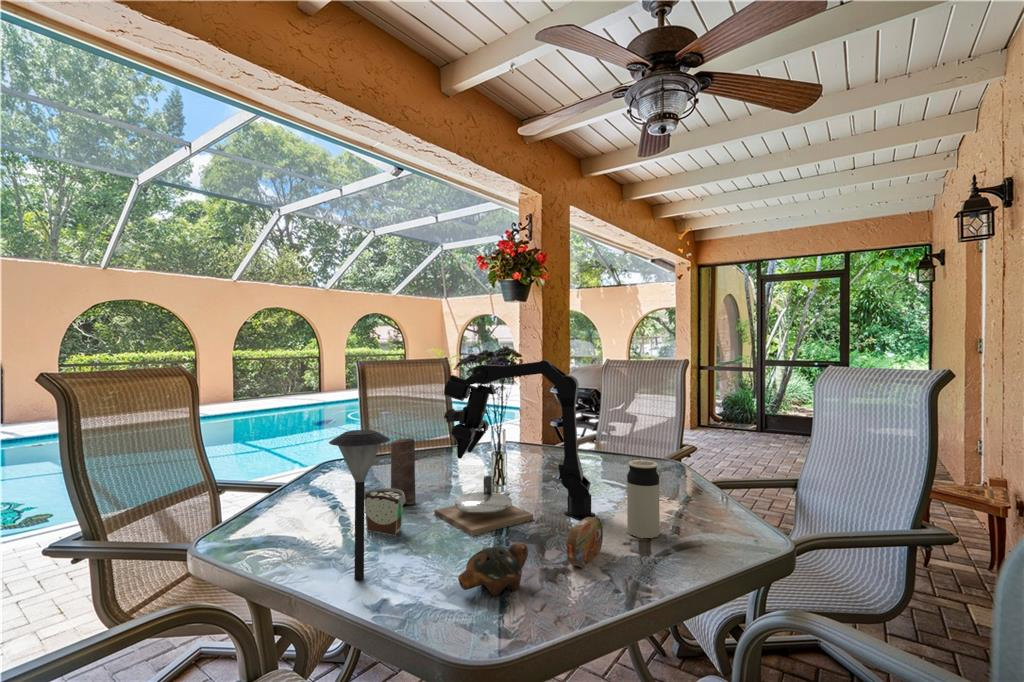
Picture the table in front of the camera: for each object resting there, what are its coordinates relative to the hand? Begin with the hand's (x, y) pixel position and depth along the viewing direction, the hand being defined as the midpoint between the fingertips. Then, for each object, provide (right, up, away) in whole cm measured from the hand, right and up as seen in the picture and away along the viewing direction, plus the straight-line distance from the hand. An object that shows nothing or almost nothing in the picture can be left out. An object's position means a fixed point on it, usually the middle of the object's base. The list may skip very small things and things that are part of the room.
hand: (464, 455), depth 147 cm
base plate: (+6, -15, -10) cm, 19 cm away
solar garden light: (-17, -15, -47) cm, 52 cm away
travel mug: (+48, -15, -22) cm, 55 cm away
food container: (-18, -15, -19) cm, 30 cm away
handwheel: (+6, -13, -10) cm, 18 cm away
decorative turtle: (+11, -14, -51) cm, 55 cm away
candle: (-19, -16, +2) cm, 25 cm away
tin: (+31, -15, -38) cm, 51 cm away
